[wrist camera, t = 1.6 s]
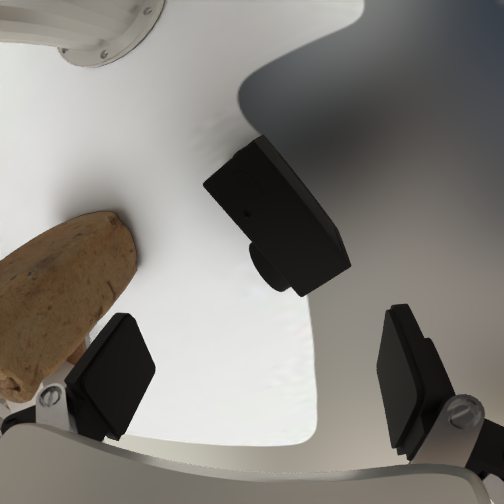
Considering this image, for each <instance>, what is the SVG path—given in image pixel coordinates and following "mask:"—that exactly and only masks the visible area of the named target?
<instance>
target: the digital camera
mask: <svg viewBox="0 0 504 504" xmlns="http://www.w3.org/2000/svg"><path fill="white" fill-rule="evenodd" d="M203 187H204V188H205V189H206V190H207V191H208V192H209V193H210V195H211V196H212V197H213V198H214V199H215V200H216V201H217V203H218V204H219V205H220V206H221V207H222V208H223V209H224V210H225V212H226V213H227V214H228V215H229V216H230V217H231V218H232V220H233V221H234V222H235V223H236V224H237V225H238V226H239V228H240V229H241V230H242V231H243V232H244V233H245V234H246V236H247V237H248V238H249V239H250V240H251V241H252V243H250V245H249V252H250V256H251V259H252V261H253V263H254V266H255V267H256V269H257V271H258V272H259V274H260V275H261V276H262V278H263V279H264V280H265V281H266V282H267V283H268V284H269V285H270V286H271V287H272V288H273V289H275V290H277V291H279V292H283V291H285V290H286V289H288V288H290V287H292V288H293V289H294V291H295V292H296V293H297V294H298V295H299V296H300V297H303V296H305V295H307V294H308V293H310V292H311V291H313V290H315V289H316V288H318V287H319V286H321V285H323V284H324V283H326V282H328V281H329V280H331V279H332V278H334V277H335V276H337V275H339V274H340V273H342V272H343V271H345V270H346V269H348V268H350V267H351V263H350V260H349V257H348V255H347V252H346V249H345V246H344V244H343V241H342V238H341V236H340V233H339V231H338V229H337V227H336V226H335V225H334V223H333V222H332V220H331V219H330V218H329V216H328V215H327V214H326V212H325V211H324V210H323V208H322V207H321V206H320V204H319V203H318V202H317V200H316V199H315V198H314V196H313V195H312V194H311V192H310V191H309V190H308V189H307V187H306V186H305V185H304V184H303V182H302V181H301V180H300V178H299V177H298V176H297V175H296V173H295V172H294V171H293V170H292V168H291V167H290V166H289V165H288V163H287V162H286V161H285V160H284V158H283V157H282V156H281V155H280V154H279V152H278V151H277V150H276V149H275V148H274V146H273V145H272V144H271V143H270V142H269V141H268V139H267V138H266V137H265V136H264V135H262V136H260V137H258V138H256V139H254V140H253V141H252V142H251V143H250V144H248V145H247V146H245V147H244V148H242V149H241V150H239V151H238V152H237V153H236V154H235V155H234V156H233V158H232V159H230V160H229V161H228V162H227V163H226V164H224V165H223V166H222V167H221V168H220V169H219V170H217V171H216V172H215V173H214V174H213V175H212V176H211V177H209V178H208V179H207V180H206V181H205V182H204V183H203Z"/></svg>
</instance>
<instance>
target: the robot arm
mask: <svg viewBox="0 0 504 504" xmlns="http://www.w3.org/2000/svg"><path fill="white" fill-rule="evenodd" d="M163 4H164V0H0V42H8V43H24V44H35V45H45V46H53V47H57V49H58V51H59V53H60V54H61V56H62V57H63V58H64V59H65V60H66V61H67V62H69V63H71V64H73V65H75V66H81V67H97V66H103V65H105V64H108V63H111V62H113V61H115V60H117V59H118V58H120V57H122V56H124V55H125V54H126V53H127V52H129V51H130V50H132V49H133V48H134V47H135V46H136V45H137V44H138V43H139V42H140V41H141V40H142V39H143V38H144V37H145V36H146V34H147V33H148V32H149V31H150V29H151V28H152V27H153V25H154V23H155V22H156V20H157V18H158V17H159V14H160V12H161V10H162V7H163ZM154 374H155V364H154V362H153V360H152V357H151V355H150V353H149V351H148V348H147V346H146V344H145V342H144V339H143V337H142V334H141V332H140V330H139V327H138V325H137V322H136V320H135V318H134V317H132V316H131V315H130V314H129V313H115V314H114V315H113V317H112V318H111V319H110V320H109V322H108V323H107V324H106V325H105V327H104V328H103V329H102V330H101V332H100V333H99V334H98V335H97V337H96V338H95V339H94V341H93V342H92V343H91V344H90V346H89V347H88V348H87V350H86V351H85V352H84V354H83V355H82V356H81V358H80V359H79V360H78V362H77V363H76V364H75V366H74V367H73V368H72V370H71V371H70V372H69V374H68V375H67V376H66V378H65V379H64V382H65V384H66V385H67V386H66V388H64V387H63V386H62V385H61V384H59V383H53V384H49V385H47V386H45V387H44V388H43V389H41V391H40V392H39V393H38V395H37V397H36V405H33V406H31V407H28V408H26V409H23V410H21V411H18V412H15V413H13V414H11V415H9V416H7V417H6V418H5V419H4V421H3V423H2V425H1V430H0V504H491V501H490V499H491V500H492V501H493V502H494V503H495V504H504V427H503V426H501V425H499V424H496V423H494V422H492V421H490V420H487V419H485V410H484V407H483V405H482V403H481V402H480V401H479V400H478V399H477V398H475V397H473V396H471V395H467V394H459V395H455V392H454V390H453V387H452V385H451V382H450V380H449V377H448V375H447V373H446V370H445V368H444V366H443V363H442V361H441V359H440V357H439V354H438V352H437V350H436V348H435V346H434V344H433V342H432V340H431V339H430V338H424V336H423V334H422V332H421V330H420V328H419V325H418V324H417V321H416V319H415V317H414V315H413V313H412V311H411V309H410V307H409V305H408V304H397V305H392V306H391V308H390V310H386V313H385V320H384V326H383V333H382V339H381V344H380V350H379V355H378V360H377V375H378V379H379V384H380V389H381V394H382V398H383V403H384V408H385V413H386V419H387V424H388V430H389V435H390V441H391V446H392V448H397V454H398V455H403V454H406V456H407V460H409V461H410V462H409V464H407V465H396V466H387V467H379V468H369V469H361V470H350V471H336V472H315V473H269V472H251V471H239V470H228V469H219V468H211V467H204V466H198V465H192V464H186V463H180V462H175V461H170V460H165V459H161V458H156V457H152V456H148V455H144V454H140V453H136V452H132V451H129V450H125V449H121V448H118V447H115V446H111V445H109V444H105V441H104V437H105V435H106V436H107V437H108V438H110V439H113V440H116V441H119V439H120V437H121V435H124V434H125V432H126V430H127V428H128V426H129V424H130V422H131V420H132V418H133V416H134V414H135V412H136V410H137V408H138V406H139V404H140V402H141V400H142V398H143V396H144V394H145V392H146V390H147V388H148V386H149V384H150V382H151V380H152V378H153V376H154Z"/></svg>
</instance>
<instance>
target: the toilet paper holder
mask: <svg viewBox="0 0 504 504" xmlns="http://www.w3.org/2000/svg"><path fill="white" fill-rule="evenodd" d="M89 346H90V338H89V334H88V335H87V336H86V337H85V339H84V340H83V341H82V342H81V344H80V345H79V346H78V347H77V348H76V349H75V351H74V352H73V353H72V354H71V355H70V356H68V358H67V360H66V361H65V362H64V363H63V364H62V365H61V367H60V368H59V369H58V370H57V372H55V373H54V374H53V375H51V376H49V377H47V378H45V379H44V380H43V381H42V382H41V384H40V386H39V389H38V390H37V392H36V394H35V395H34V397H33V398H32V400H31V401H28V402H25V403H14V402H10V401H7V400H5V399H3V398H1V397H0V430H1V425H2V423H3V421H4V419H5V418H6V417H7V416H9V415H11V414H13V413H15V412H18V411H21V410H23V409H26V408H28V407H31V406H33V405H36V397H37V395H38V393H39V392H40V391H41V389H43V388H44V387H45V386H47V385H49V384H53V383H59V384H61V385H62V386H63V387H64V388H66V386H67V385H66V384H65V382H64V379H65V378H66V376H67V375H68V374H69V372H70V371H71V370H72V368H73V367H74V366H75V364H76V363H77V362H78V360H79V359H80V358H81V356H82V355H83V354H84V352H85V351H86V350H87V348H88V347H89Z"/></svg>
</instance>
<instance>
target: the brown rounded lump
mask: <svg viewBox="0 0 504 504" xmlns="http://www.w3.org/2000/svg"><path fill="white" fill-rule="evenodd" d="M136 271H137V260H136V250H135V246H134V242H133V239H132V235H131V233H130V231H129V230H128V228H127V227H125V226H124V225H123V224H122V223H121V221H120V220H119V218H118V216H117V215H116V214H114V213H112V212H110V211H101V212H95V213H89V214H86V215H82V216H79V217H76V218H74V219H71V220H69V221H67V222H65V223H62V224H59V225H57V226H55V227H53V228H51V229H49V230H47V231H45V232H43V233H42V234H40V235H38V236H37V237H35V238H33V239H32V240H30V241H29V242H27V243H26V244H24V245H22V246H21V247H19V248H18V249H16V250H15V251H13V252H12V253H11V254H9V255H8V256H6V257H5V258H4V259H2V260H1V261H0V397H1V398H3V399H5V400H7V401H10V402H14V403H25V402H28V401H31V400H32V398H33V397H34V395H35V394H36V392H37V390H38V389H39V386H40V384H41V382H42V381H43V380H44V379H45V378H47V377H49V376H51V375H53V374H54V373H55V372H57V370H58V369H59V368H60V367H61V365H62V364H63V363H64V362H65V361H66V360H67V358H68V356H70V355H71V354H72V353H73V352H74V351H75V349H76V348H77V347H78V346H79V345H80V344H81V342H82V341H83V340H84V339H85V337H86V336H87V335H88V334H89V333H90V331H91V330H92V329H93V327H94V326H95V325H96V324H97V321H98V320H100V319H101V318H102V317H103V316H104V315H105V314H106V313H107V311H108V310H109V309H110V308H111V306H112V305H113V304H114V302H115V301H116V300H117V299H118V297H119V296H120V295H121V294H122V292H123V291H124V290H125V288H126V287H127V286H128V284H129V283H130V281H131V279H132V278H133V276H134V275H135V273H136Z"/></svg>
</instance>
